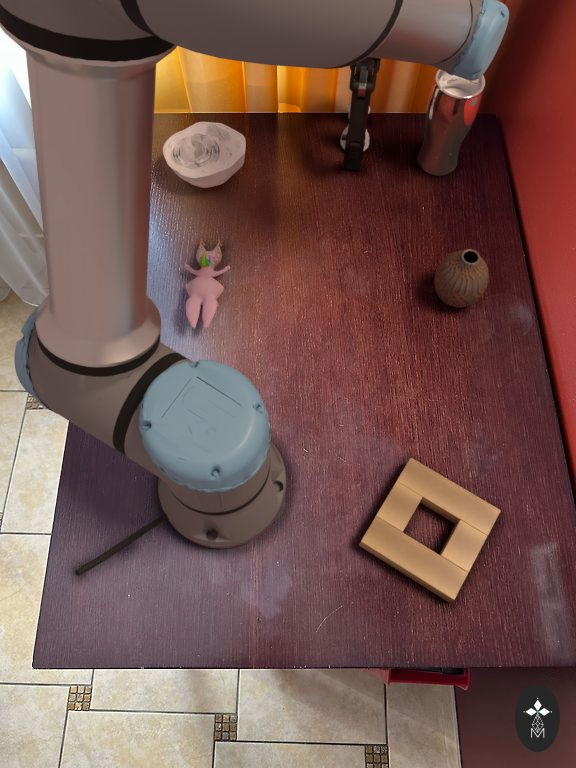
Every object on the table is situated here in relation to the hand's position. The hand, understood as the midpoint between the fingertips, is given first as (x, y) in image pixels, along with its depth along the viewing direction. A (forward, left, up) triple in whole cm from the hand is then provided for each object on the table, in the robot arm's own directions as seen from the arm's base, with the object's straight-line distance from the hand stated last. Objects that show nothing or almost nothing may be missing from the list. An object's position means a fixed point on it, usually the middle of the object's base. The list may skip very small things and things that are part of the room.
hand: (354, 143), depth 105 cm
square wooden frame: (-31, -51, 0) cm, 60 cm away
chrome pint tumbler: (+8, -10, 0) cm, 13 cm away
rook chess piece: (0, 0, 0) cm, 0 cm away
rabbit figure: (-33, -8, 0) cm, 34 cm away
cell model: (-21, +9, 0) cm, 23 cm away
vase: (-6, -29, 0) cm, 30 cm away
